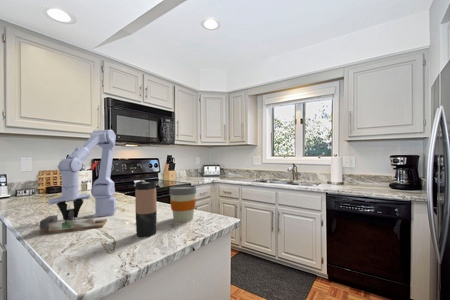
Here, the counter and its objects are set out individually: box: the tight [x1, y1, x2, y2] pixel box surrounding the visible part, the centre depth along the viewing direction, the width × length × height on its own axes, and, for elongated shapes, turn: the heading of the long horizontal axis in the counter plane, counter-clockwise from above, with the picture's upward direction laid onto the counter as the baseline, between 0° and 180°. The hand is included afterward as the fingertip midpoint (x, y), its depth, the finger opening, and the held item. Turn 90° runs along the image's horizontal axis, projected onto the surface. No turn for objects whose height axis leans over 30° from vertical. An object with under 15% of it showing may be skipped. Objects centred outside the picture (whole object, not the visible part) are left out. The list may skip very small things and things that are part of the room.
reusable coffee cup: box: [168, 184, 197, 223], centre depth 101 cm, size 13×13×15 cm
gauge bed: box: [39, 214, 108, 235], centre depth 92 cm, size 22×9×5 cm, turn 109°
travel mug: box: [134, 180, 158, 238], centre depth 83 cm, size 8×8×20 cm
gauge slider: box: [64, 208, 79, 225], centre depth 90 cm, size 4×8×6 cm, turn 19°
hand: (70, 218), depth 91 cm, fingers open, 3 cm apart
